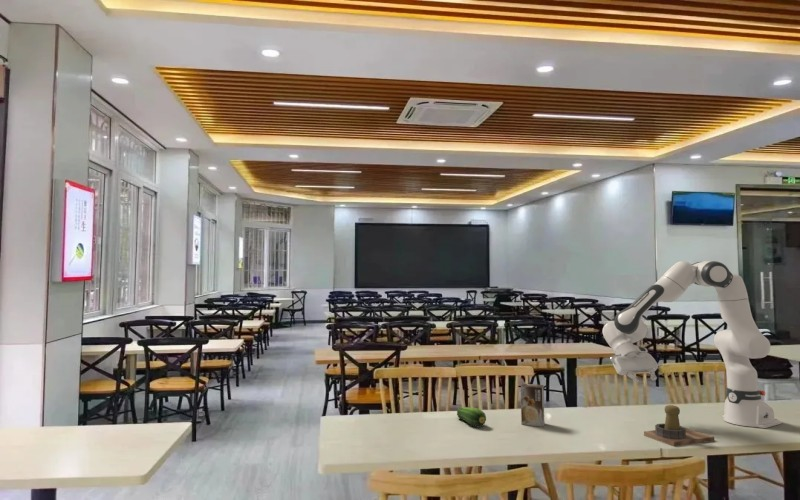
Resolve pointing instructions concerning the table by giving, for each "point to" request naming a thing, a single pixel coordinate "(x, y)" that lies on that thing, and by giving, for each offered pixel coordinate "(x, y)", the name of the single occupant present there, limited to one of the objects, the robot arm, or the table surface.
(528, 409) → the coffee box
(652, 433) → the caddy board
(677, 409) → the cork
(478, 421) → the vegetable
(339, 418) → the table surface
